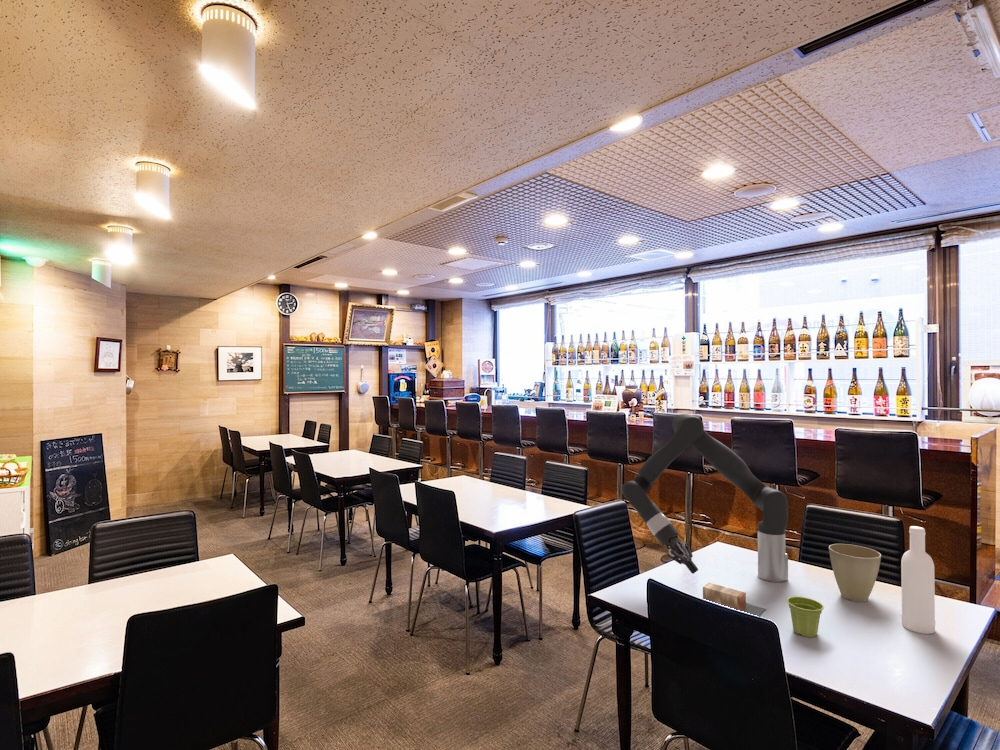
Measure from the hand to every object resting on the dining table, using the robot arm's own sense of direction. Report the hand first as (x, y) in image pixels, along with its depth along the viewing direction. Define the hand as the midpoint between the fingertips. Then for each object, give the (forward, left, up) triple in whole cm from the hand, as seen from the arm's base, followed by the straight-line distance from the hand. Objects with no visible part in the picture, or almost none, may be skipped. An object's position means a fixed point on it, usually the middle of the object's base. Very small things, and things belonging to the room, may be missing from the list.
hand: (695, 571), depth 180 cm
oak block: (-3, +2, -6) cm, 7 cm away
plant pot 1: (-23, +25, -9) cm, 35 cm away
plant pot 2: (-54, +1, -9) cm, 55 cm away
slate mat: (-9, +8, -9) cm, 15 cm away
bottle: (-58, +23, -9) cm, 63 cm away
